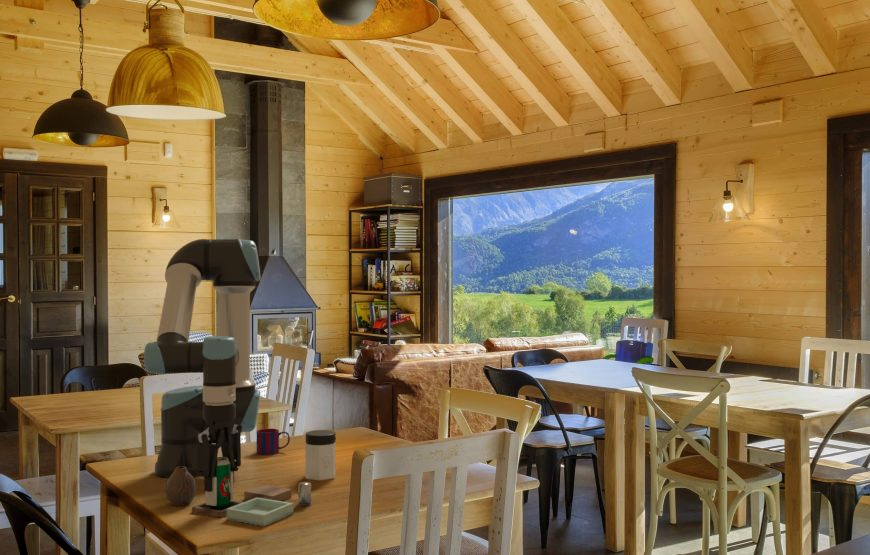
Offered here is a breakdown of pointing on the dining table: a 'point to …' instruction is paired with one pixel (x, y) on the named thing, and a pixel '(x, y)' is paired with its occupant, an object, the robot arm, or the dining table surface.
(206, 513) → the brown square frame
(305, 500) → the salt shaker
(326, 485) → the dining table surface
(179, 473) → the vase
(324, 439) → the jar
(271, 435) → the mug
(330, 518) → the dining table surface
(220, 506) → the soda can
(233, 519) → the tray
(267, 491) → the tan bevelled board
